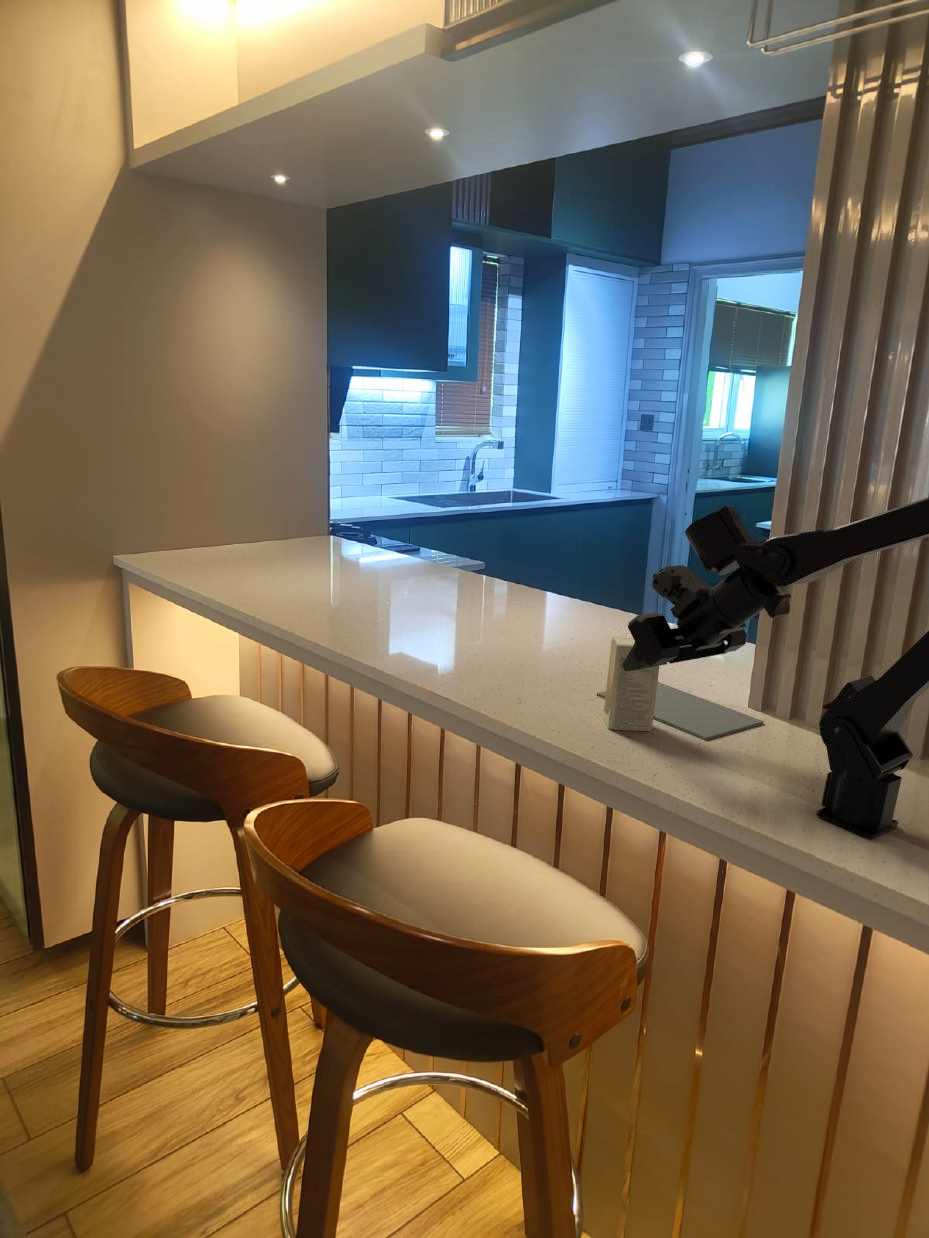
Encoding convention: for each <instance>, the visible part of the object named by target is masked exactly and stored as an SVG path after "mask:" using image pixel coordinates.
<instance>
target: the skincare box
mask: <svg viewBox="0 0 929 1238" xmlns="http://www.w3.org/2000/svg"><path fill="white" fill-rule="evenodd" d="M610 642H611V644H610V653H609V661H608V668H607V669H608V670H607V680H606V689H605V691H606V696H605V699H604V705H603V706H604V707H603V716H602V718H603V722H604V724H605V726H606V727H607V729H608V730H613V729H614V730H616V731H635V732H636V731H637V732H652V730H653V723H654V719H653V716H654V708H655V699H656V691H657V683H658V682H659V674H660V666H655V667H650V668H644V669H638V670H633V671H627V672H626V671H625V670H624V668H623V666H622V664H623V662H624V660H625V659H626V657H627V655H628V654H629V652H630V650H631V649H632V647H633V645H634V643H635V640H634V638H633V637H617V636H616V637H615V636H612V637H611V641H610Z"/></svg>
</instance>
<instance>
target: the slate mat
mask: <svg viewBox="0 0 929 1238" xmlns="http://www.w3.org/2000/svg"><path fill="white" fill-rule="evenodd" d="M597 695H598V697H600V698H602V699H604V698H605V696H606V690H605V691H600V692H597V693H596V696H597ZM653 720H655V721H658V722H661V723H662V722H663V724H665V725H668V726H669V727H672V728H675V729H678V730H680V731H682V732H685V733H687V734H689V735H691V736H694V737H697V738H699V739H701V740H704V741H708V740H711V739H714V738H718V737H721V736H722V737H723V736H726V735H729V734H732V733H735V732H740V731H743V730H746V729H750V728H754V727H757V726H760V725H764V724H765V723H764V722H765V721H764V720H762V719H759V718H756V717H753V716H751V715H748V714H746V713H742V712H741V711H737V710H735V709H733V708H730V707H726V706H725V705H721V704H718V703H716V702H713V701H711V700H708V699H705V698H702V697H700V696H697V695H694V694H691V693H690V692H686V691H683V690H681V689H678V688H676V687H672V686H670V685H668V684H664V683H662V682H660V681H658V683H657V691H656V699H655V708H654V716H653Z"/></svg>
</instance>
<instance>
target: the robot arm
mask: <svg viewBox="0 0 929 1238" xmlns="http://www.w3.org/2000/svg"><path fill="white" fill-rule="evenodd" d="M684 535H685V536H686V539H687V540H688V542H689V544H690V546H691V547H692V549H693V550H694V552H695V554H696V555H697V557H698V559H699V561H700V562H701V564H702V565H703V567H704V568H705V570H706V572H707V573H714V572H716V573H717V575H718V576H724V575H727V574H729V573H731V574H729V575H728V576H726V577H725V578H724V579H723V580H720V582H719V583H717V584H715V586H713V587H711V588H710V586H708V585H707V583H706V582H705V581H704V580H703V579H701V578H700V576H698V575H697V573H695V572H694V571H693V570H691V568H689V567H688V566H686V565H683V564H682V565H681V564H679V565H668V566H665V567H664V568H660V569H659V571H658V572H656V573H653V575H652V581H651V587H652V589H653V590H654V591H655V592H657V593H658V594H659V596H661V597H662V598H666V599H667V600H668V601H669V602H670V603H671V604H672V605H673V607H672V608H670V609H669V610H670V612H671V614H672V617H674V618H676V619H677V620H676V625H677V627H676V628H675V627H674V628H671V626H670V624H669V622H668V621H667V619H666V616H665V615H664V614H660V613H656V612H654V613H646V614H638V615H637V616H635V617H634V618H632V619H631V620H630V621H629V622H628V624H627V628H628V630H629V632H630V634H631V636H632V638H634V640H635V643H634V645H633V647H632V649H631V650H630V652H629V654H628V655H627V657H626V659H625V660H624V662H623V664H622V666H623V668H624V670H625V671H626V672H627V671H633V670H638V669H644V668H650V667H655V666H659V667H660V666H665V665H666V666H667V665H668V663H669V664H676V663H680V662H686V661H691V660H698V659H703V658H708V657H714V656H719V655H724V654H727V653H730V652H731V653H732V652H736V651H738V650H739V649H741V648H743V647H744V646H745V645H746V643H747V637H748V634H747V632H746V631H745V629H746V628H747V626H748V625H747V624H746V622H748V621H750V620H751V619H752V618H754V617H755V616H757V615H758V614H760V613H761V612H763V611H764V610H765V611H766V613H767V615H768V616H769V618H771V619H774V618H778V617H784V616H787V615H789V614H790V611H791V604H790V601H791V598H792V595H791V593H786V592H784V591H782V590H781V587H787V586H788V587H789V586H795V585H802V584H808V583H813V582H815V581H817V580H818V579H819V580H820V579H822V578H823V577H825V576H827V575H829V574H831V573H833V572H835V571H838V569H840V568H841V567H844V566H845V565H847V564H848V563H850V562H851V561H854V560H855V559H858V558H861V557H865V556H868V555H871V554H874V553H875V554H876V553H879V552H881V551H886V550H888V549H892V548H895V547H899V546H901V545H905V544H908V543H912V542H916V541H918V540H919V541H920V540H922V539H925V538H929V497H925V498H923V499H919V500H916V501H913V502H911V503H907V504H904V505H901V506H898V507H896V508H893V509H889V510H885V511H883V512H879V513H877V514H874V515H870V516H868V517H865V518H862V519H859V520H856V521H852V522H850V523H846V524H843V525H841V526H838V527H833V528H827V529H819V530H813V531H812V530H811V531H806V532H797V533H796V532H795V533H791V534H783V535H778V536H772V537H770V538H768V539H761V540H755V539H754V538H753V537H752V535H751V533H750V532H749V530H748V529H747V526H745V524H744V522H743V521H742V519H741V515H740V513H739V511H738V509H737V508H736V506H735V505H724V506H723V507H721V508H720V509H719V510H716V511H713V512H711V513H709V514H707V515H706V516H704V517H702V518H700V519H699V518H698V519H696V520H694V521H693V522H691V523H690V525H688V526H687V528H686V529H685V531H684ZM726 642H727V643H726ZM928 689H929V630H928V631H927V632H925V634H924V635H923V636H921V638H919V639H918V640H917V642H915V643H914V644H913V645H911V647H910V648H909V649H908V650H907V651H906V652H905V653H904V654H903V655H902V656H901V657H900V658H899V659H898V660H897V661H896V662H895V663H893V664H892V666H890V668H888V670H886V671H885V672H884V673H883V674H882V675H881V676H880V677H879V678H878V679H875V678H874V676H873V675H872V674H870V675H867V676H864V677H863V676H862V677H861V678H858V679H854V680H852V681H849V682H847V683H845V685H844V686H843V687H842V688H841V689H840V691H839V693H838V694H837V696H836V697H835V698H834V699H833V700H832V701H830V702H829V703H826V704H824V705H822V709H824V710H826V711H824V713H823V714H822V715H821V718H820V720H819V722H818V726H819V734H820V737H821V740H822V743H823V745H825V747H826V752H827V753H826V754H827V757H828V758H827V759H828V765H829V766H828V767H829V770H830V771H829V772H827V775H826V778H825V784H824V788H823V789H824V790H823V794H822V799H821V803H820V804H821V806H822V807H823V808H820V809H818V810H816V816H817V817H819V818H822V819H824V820H826V821H828V822H831V823H832V824H835V825H837V826H840V827H841V828H843V829H846V830H849V831H851V832H854V833H855V834H858V835H860V836H862V837H864V838H866V839H870V840H871V839H875V838H876V837H879V836H881V835H883V834H885V833H887V832H889V831H891V830H892V829H895V828H897V827H898V826H899V821H898V820H896V819H894V816H895V815H894V814H895V810H896V805H897V801H898V797H899V791H900V787H901V785H902V784H901V783H902V779H903V778H902V776H901V775H898V774H896V773H897V772H898V771H901V770H904V769H906V767H907V766H908V764H909V763H910V761H911V760H912V759H913V756H914V753H913V752H912V750H911V749H910V747H909V746H908V745H907V743H906V741H905V740H904V739H903V737H902V735H901V734H900V732H899V731H898V730H900V728H901V727H902V725H903V724H904V723H905V721H906V720H907V718H908V717H909V714H910V712H911V710H912V708H913V706H914V704H915V703H916V701H917V699H919V697H920V696H922V695H923V694H924V693H926V691H927V690H928Z"/></svg>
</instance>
